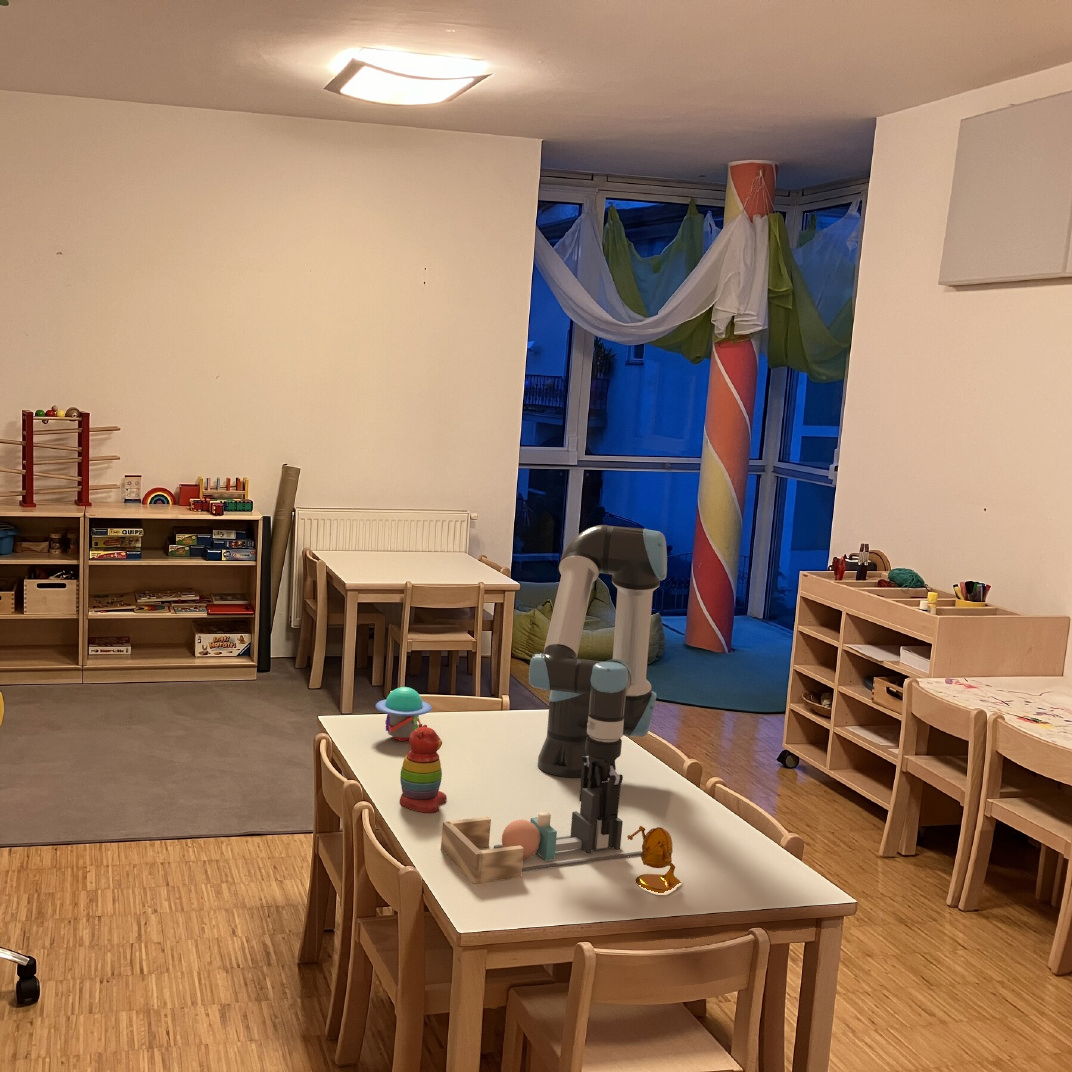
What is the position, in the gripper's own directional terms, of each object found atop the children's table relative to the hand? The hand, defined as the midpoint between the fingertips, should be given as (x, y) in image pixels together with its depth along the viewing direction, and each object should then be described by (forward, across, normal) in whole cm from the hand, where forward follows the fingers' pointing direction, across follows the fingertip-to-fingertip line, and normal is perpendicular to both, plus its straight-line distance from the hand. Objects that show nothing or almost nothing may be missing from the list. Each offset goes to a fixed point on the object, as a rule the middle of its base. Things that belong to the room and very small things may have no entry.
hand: (595, 842), depth 244 cm
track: (+1, 0, -6) cm, 6 cm away
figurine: (+1, +20, +3) cm, 20 cm away
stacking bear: (+1, -34, -26) cm, 43 cm away
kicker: (+1, 0, -4) cm, 4 cm away
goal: (+1, 0, -26) cm, 26 cm away
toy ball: (+1, 0, -18) cm, 18 cm away
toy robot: (+1, -79, -14) cm, 80 cm away
